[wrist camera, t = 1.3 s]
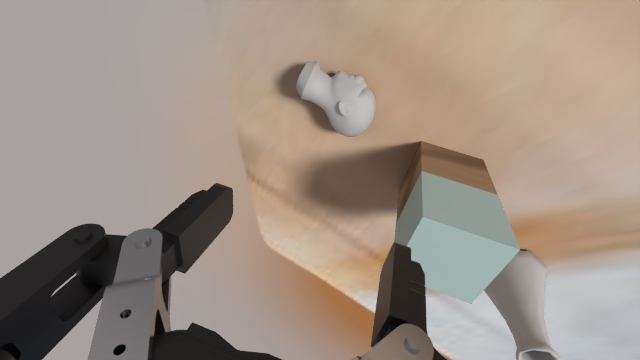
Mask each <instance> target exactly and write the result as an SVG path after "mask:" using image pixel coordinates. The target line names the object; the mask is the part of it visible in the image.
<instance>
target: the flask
mask: <svg viewBox="0 0 640 360" xmlns="http://www.w3.org/2000/svg"><path fill="white" fill-rule="evenodd" d="M546 275H547V267H546V266H545V265H544V264H543V263H542V262H541V261H540V260H539V259H538V258H537V257H536V256H535V255H534V254H533V253H532V252H531V251H519V252H518V253H517V254H516V255H515V256H514V257H513V259H512V260H511V261H510V262H509V263H508V264H507V265H506V266H505V267H504V268H503V270H502V271H501V272H500V273H499V274H498V275H497V276H496V277H495V278H494V279H493V280H492V282H491V283H490V284H489V285H488V286H487V287H486V288H485V289H484V291H485V292H486V294H487V295H488V296H489V298H490V299H491V300H492V302H493V303H494V305H495V306H496V307H497V309H498V310H499V312H500V313H501V315H502V316H503V318H504V319H505V320H506V322H507V324H508V326H509V328H510V330H511V332H512V335H513V337H514V339H515V342H516V346H517V351H516V359H517V360H561V359H560V356H559V355H558V353H556V352H555V351H554V350H553V349H552V347H551V344H550V341H549V338H548V335H547V329H546V324H545V318H544V317H545V288H546Z"/></svg>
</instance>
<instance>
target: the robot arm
mask: <svg viewBox="0 0 640 360" xmlns="http://www.w3.org/2000/svg"><path fill="white" fill-rule="evenodd" d="M232 214H233V190H232V188H230V187H227V186H224V185H221V184H218V183H216V184H214V185H213V186H212V187H211V188H210V189H209V190H207V191H205V190H202V191H199V192H197V193H195V194H193V195H191V196H190V197H189V198H188V199H187V200H185V202H183V203H182V204H181V205H180V206H179V207H178V208H176V209H175V210H174V211H172V212H171V213H170V214H169V215H168V216H167V217H165V218H164V219H163V220H162V221H161V222H160V223H158V224H157V225H156V226H155V227H153V228H152V229H149V228H147V229H141V230H137V231H135V232H133V233H131V234H129V235H128V236H120V235H106V233H105V230H104V228H103V227H102V226H100V225H97V224H84V225H80V226H77V227H74V228H72V229H70V230H69V231H67V232H66V233H64V234H63V235H61V236H60V237H59V238H57V239H56V240H54V241H53V242H52V243H50V244H49V245H47V246H46V247H45V248H43V249H42V250H41V251H39V252H38V253H36V254H35V255H34V256H32V257H30V258H29V259H27V260H26V261H25V262H23V263H22V264H20V265H19V266H17V267H16V268H15V269H13V270H12V271H10V272H9V273H7V274H6V275H5V276H3V277H2V278H0V360H42V359H43V358H44V357H45V356H46V355H47V354H48V353H49V352H50V351H51V350H52V348H54V347H55V346H56V344H58V342H60V341H61V340H62V339H63V338H64V337H65V336H66V335H67V333H68V332H69V331H70V330H71V329H72V328H73V327H74V326H75V325H76V324H77V323H78V322H79V321H80V320H81V319H82V318H83V317H84V316H85V315H86V314H87V313H88V312H89V311H90V310H91V309H92V308H93V307H94V306H95V305H96V304H97V303H98V302H99V301H100V300H101V299H102V298H103V299H102V303H101V307H100V311H99V315H98V319H97V324H96V327H95V331H94V336H93V340H92V344H91V348H90V352H89V356H88V360H281V359H279V358H277V357H274V356H272V355H270V354H265V353H257V352H247V351H239V350H237V349H235V348H234V347H233V346H232V345H230V344H229V343H228V342H227V341H226V340H224V339H223V338H222V337H221V336H220V335H219V334H217V333H216V332H214V331H212V330H209V329H207V328H204V327H202V326H200V325H197V324H195V323H192V324H191V325H190V326H189V328H188V329H187V330H175V331H171V328H170V297H171V275H172V274H173V273H174V272H175V271H176V270H177V271H179V272H182V273H186V272H187V271H188V270H189V268H190V267H191V266H192V265H193V264H194V263H195V261H196V260H197V259H198V258H199V257H200V256H201V254H202V253H203V252H204V251H205V250H206V249H207V248H208V246H209V245H210V244H211V243H212V242H213V240H214V239H215V238H216V237H217V236H218V235H219V234H220V232H221V231H222V230H223V229H224V227H226V225H227V224H228V223H229V222H230V220H231V217H232ZM75 273H76V274H77V275H76V276H75V277H74V278H72V279H71V280H70V281H69V282H68V283H67V284H65V285H64V286H63V287H62V288H61V289H60V290H58V291H57V292H56V293H55V294H54V295H53V296H51V295H52V294H53V292H54V291H55V290H56V289H57V288H59V287H60V286H61V285H62V284H63V283H64V282H65V281H66V280H68V279H69V278H70V277H71V276H73V275H74V274H75ZM371 347H372V348H371V349H370V350H369V351H368V352H366V353H365V354H364V355H363V356H361V357H359V356H357V357H355V358H353V359H352V360H447V359H445V358H444V357H443V356H442V355H440V354H439V353H438V352H437V351H436V349H435V348H434V347H433V344H432V342H431V340H430V338H429V337H428V335H427V329H426V296H425V273H424V271H423V269H422V267H421V265H420V263H418V262H415V261H412V260H411V248H410V247H407V246H404V245H401V244H398V243H395V242H394V243H393V245H392V247H391V249H390V251H389V254H388V256H387V258H386V260H385V262H384V265H383V268H382V271H381V275H380V282H379V290H378V297H377V304H376V312H375V319H374V327H373V335H372V342H371Z"/></svg>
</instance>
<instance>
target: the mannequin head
mask: <svg viewBox="0 0 640 360" xmlns="http://www.w3.org/2000/svg"><path fill="white" fill-rule="evenodd" d="M296 88H297V91H298V93H299V95H300V97H301V99H303V100H307V101H310V102H313V103H315V104H317V105H318V106H320V107H321V108H322V109H323V110H324V111H325V112H326V114H327V116H328V119H329V121H330V123H331V125H332V126H333V128H334V129H335V130H336V131H337V132H339V133H340V134H342V135H344V136H349V137H353V136H357V135H360V134H361V133H363V132H364V131H365V130H366V129H367V128H368V127H369V125H370V124H371V122H372V121H373V118H374V114H375V99H374V95H373V93H372V91H371V90H370V89H369V88H368V87H367V85H366V83H365V81H364V79H363V77H362V76H361V75H356V76H353V75H349V74H345V73H344V72H343V71H339V72H337V73H336V74H335V75H334V76H333V77H330V76H329V75H327V74H326V73H325V72H324V71H323V70H321V69H320V67H319V64H318V62H307V63H306V64H305V66H304V68H303V70H302V72H301V74H300V76H299V78H298V81H297V84H296Z"/></svg>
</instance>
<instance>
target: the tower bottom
mask: <svg viewBox="0 0 640 360" xmlns="http://www.w3.org/2000/svg"><path fill="white" fill-rule="evenodd" d="M422 171H424V172H427V173H430V174H433V175H436V176H440V177H443V178H446V179H449V180H452V181H455V182H459V183H462V184H465V185H468V186H471V187H474V188H478V189H481V190H484V191H487V192H490V193H493V194H497V192H496V190H495V187H494V185H493V182H492V180H491V178H490V175H489V173H488V170H487V168H486V165H485V163H484V160H482V159H479V158H475V157H472V156H469V155H465V154H462V153H459V152H455V151H452V150H449V149H445V148H442V147H439V146H436V145H432V144H429V143H426V142H422V141H421V143H420V145H419V147H418V149H417V152H416V154H415V156H414V158H413V160H412V163H411V165H410V167H409V169H408V172H407V174H406V176H405V178H404V180H403V183H402V185H401V187H400V190H399V200H398V210H397V220H396V223H397V221H398V219H399V217H400V215H401V213H402V211H403V209H404V207H405V204H406V202H407V200H408V198H409V196H410V194H411V192H412V190H413V188H414V186H415V184H416V182H417V180H418V178H419V176H420V174H421V172H422Z"/></svg>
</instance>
